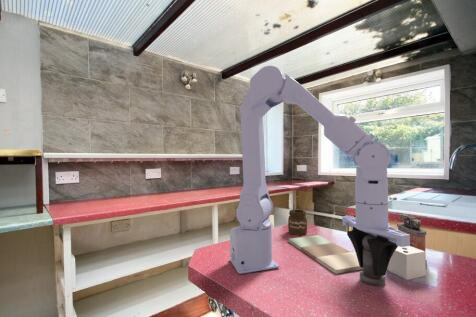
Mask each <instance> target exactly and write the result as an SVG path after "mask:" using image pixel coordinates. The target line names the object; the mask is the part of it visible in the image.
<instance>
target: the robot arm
mask: <svg viewBox="0 0 476 317" xmlns="http://www.w3.org/2000/svg"><path fill="white" fill-rule="evenodd" d="M283 74H284V75H283ZM282 103H285V104H287V105H297V106H298V107H299V108H300V109H302V110H303V111H304V112H306V113H307V114H308V115H310V117H312V118H313V119H314V120H315V121H317V122H318V123H319V124H320V125H321V126H323V135H324V137H325V138H326V139H328V140H329V141H330V142H331V143H332V144H334V145H335V147H336V148H338V149H339V150H340V151H341V152H342V153H344V154H345V155H346V156H352V160H353V163H354V164H355V166H356V167H355V169H356V170H355V172H356V173H355V174H356V176H355V180H354V184H355V185H354V186H355V187H354V188H355V189H354V190H355V191H354V193H355V195H354V196H355V198H354V199H355V200H354V202H355V203H354V204H355V217H354V216H351V215H347V216H346V215H344V216H342V218H341V220H342V226H345V227H350V228H352V229H351V230H348V231H347V232H346V235H347V237H348V239H349V240H350V242H351V245H352V246H353V248H354V252H355V254H356V255H357V259H358V262H359V266H360V267H361V268H363V248H364V247H363V245H362V240H363V238H364V237H365V236H367V235H374V236H376V238H373V239H367V242H368V244H369V246H370V250H371V253H372V259H373V271H374V275H376V276H383V275H384V276H386V275H387V272H388V270H387V268H388V264H389V261H390V259H391V257H392V255H393V253H394V251H395V250H396V249H397V247H398V246H400V247H405V246H410V235H409V234H406V233H403V232H401V231H399V230H398V228H395V227H393V226H391V225H392V224H391V223H389V180H388V166H390V163H391V161H392V155H391V154H390V152H389V151H390V150H389V148H388V147H387V146H386V145H385V144H383V143H382V142H380V141H375V140H374V139H375V138H376V136H375V135H374V134H373V133H372V132H371V133H368V132H367V131H366V130H364V129H363V128H362V127H361V126H359V125H358V124H357V123H356V121H357V119H356V118H355V117H354V116H352V115H350V116H349V117H348V116H347V114H345V113H344V114H335V113H334V112H332V110H330V109H329V108H328V107H327V106H326V105H324V103H322V102H321V101H320V100H319V99H318V98H317V97H315V95H313V94H312V93H311V92H310V91H309V90H308V89H307V88H305V87H304V86H303V85H302V83H299V82H298V81H297V80H295V79H294V78H293V77H292V76H290V75H289V74H287V73H283V72H282V71H281V69H279V68H278V67H277V66H274V65H266V66H263V67H261V68H259V70H258V71H256V72H255V74H253V76H252V77H251V78H250V79H249V87H248V89H247V91H246V94H245V96H244V98H243V101H242V103H241V105H240V111H239V112H240V129H241V130H240V132H241V134H240V135H241V156H242V177H243V179H242V180H243V186H242V187H241V190H240V193H239V203H238V206H237V207H236V211H235V212H236V214H235V215H236V219H237V221H238V222H239V226H235V227H232V228H231V229H230V232H229V247H230V248H229V251H230V253H229V254H230V257H229V261H230V262H231V264H232V266H233V267H234V269H235V270H236V273H237V274H240V275H241V274H247V273H254V272H261V271H266V270H267V271H268V270H273V269H278V268H279V267H280V265H279V264H278V263H277V262H276V261H275V260H274V259H273V242H272V240H273V238H272V236H273V235H272V233H273V232H272V222H271V220H270V218H269V217H270V216H271V215H272V213H273V211H274V203H273V201H272V198H271V197H270V194H269V188H268V185H267V182H266V163H265V162H266V161H265V141H264V135H265V134H264V116H265V115H266V114H267V113H268V112H269V111H270V110H271V109H273V108H275V107H277V106H278V105H280V104H282Z"/></svg>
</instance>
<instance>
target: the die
mask: <svg viewBox="0 0 476 317" xmlns="http://www.w3.org/2000/svg"><path fill="white" fill-rule="evenodd" d="M425 252H426V250H425V251H423V250H420V249H417V248H414V247H411V246H405V247H400V246H398V247H397V249H396V250H395V251H394V253H393V255H392V257H391V259H390V261H389V264H388V268H387V272H388V271H389V272H390V273H392V274H394V275H397V276H399V277H400V278H402V279H404V280H407V281H408V280H413V279H418V278H421V277H422V278H423V277H426V276H427V275H426V272H427V270H426V269H427V268H426V266H427V265H426V262H425Z"/></svg>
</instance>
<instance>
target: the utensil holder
mask: <svg viewBox="0 0 476 317" xmlns="http://www.w3.org/2000/svg"><path fill="white" fill-rule="evenodd" d="M308 197H309V196H308V195H306V197H305V201H304V205H303V209H296V203H295V199H293V198H292V201H293V203H294V204H293V203H292V201H291V198H289V199H288V201H290V203H291V205H293V206H294V208H293V206H290V204H288V208H289V212H288V215H289V216H288V219H287V228H288V233H289V234H291V235H295V236H302V235H303V236H304V235H306V234H307V233H308V220H307V218H308V217H306V215H307V214H306V211H305V209H306V205H307V202H308ZM291 207H292V209H291Z"/></svg>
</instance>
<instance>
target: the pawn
mask: <svg viewBox="0 0 476 317" xmlns="http://www.w3.org/2000/svg"><path fill="white" fill-rule="evenodd" d="M373 238H376V236H374V235H367V236H365V237H364V238H363V240H362V245H363V247H364V248H363V269H362V270H360V272H359V280H360V281H361V282H362V283H364V284H366V285H369V286H372V287H373V286H374V287H383V286H385V284H386V277H385V276H386V275H383V276H376V275H374V271H373V259H372V253H371V250H370V246H369V244H368V242H367V239H373Z"/></svg>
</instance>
